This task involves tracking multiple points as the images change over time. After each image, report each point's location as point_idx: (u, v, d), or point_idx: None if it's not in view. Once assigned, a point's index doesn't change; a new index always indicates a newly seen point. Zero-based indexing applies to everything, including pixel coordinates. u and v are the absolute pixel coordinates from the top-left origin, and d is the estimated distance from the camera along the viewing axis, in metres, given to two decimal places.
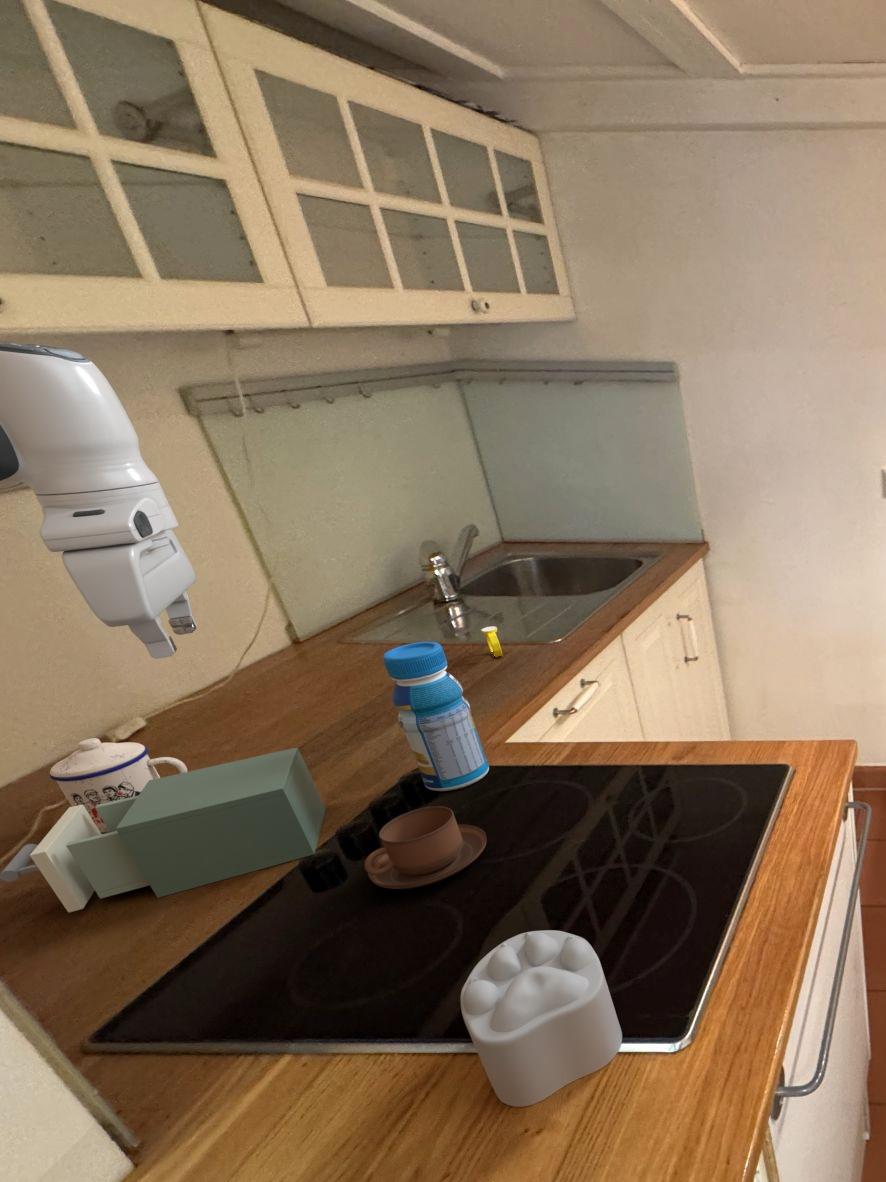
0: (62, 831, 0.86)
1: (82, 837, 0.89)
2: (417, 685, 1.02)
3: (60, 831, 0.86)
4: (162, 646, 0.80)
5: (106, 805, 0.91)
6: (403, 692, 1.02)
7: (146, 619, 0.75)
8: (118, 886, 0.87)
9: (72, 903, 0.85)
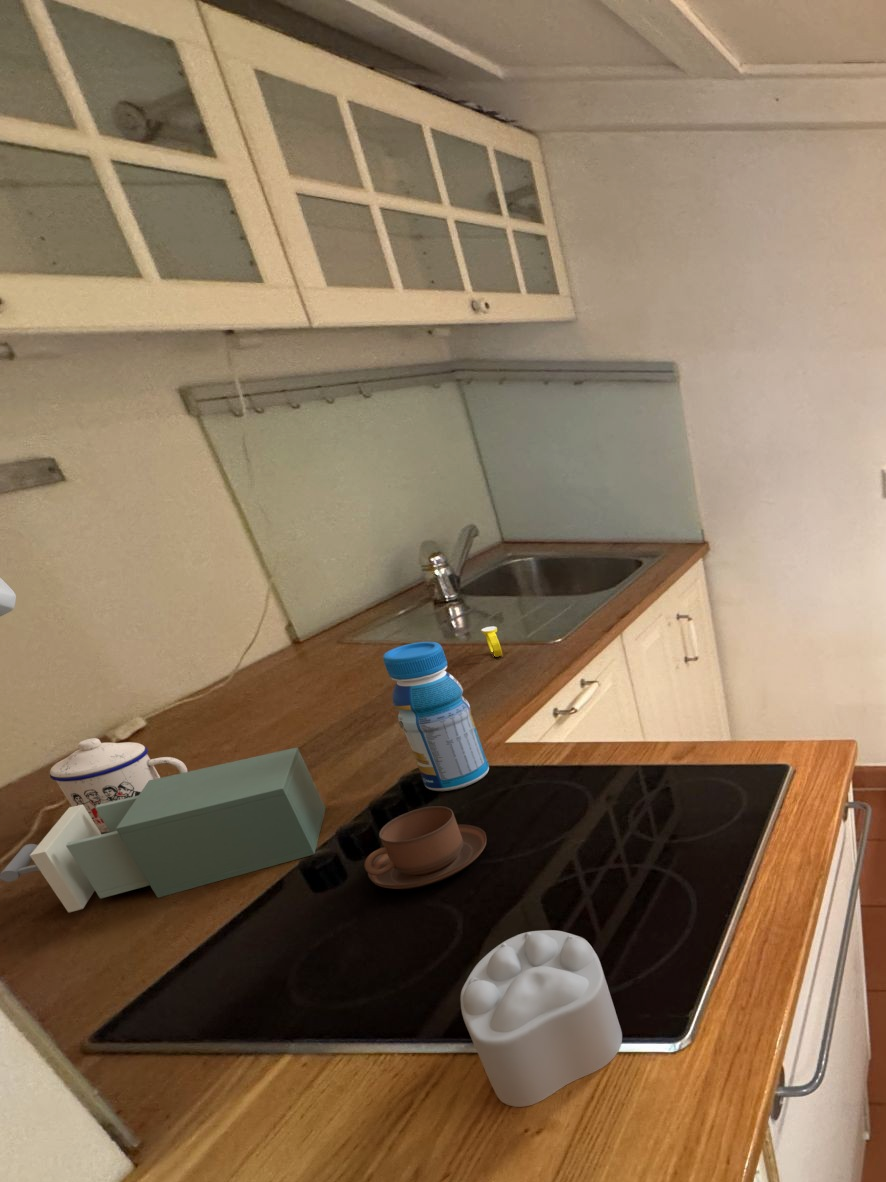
0: (62, 831, 0.86)
1: (82, 837, 0.89)
2: (417, 685, 1.02)
3: (60, 831, 0.86)
4: None
5: (106, 805, 0.91)
6: (403, 692, 1.02)
7: (13, 604, 0.68)
8: (118, 886, 0.87)
9: (72, 903, 0.85)
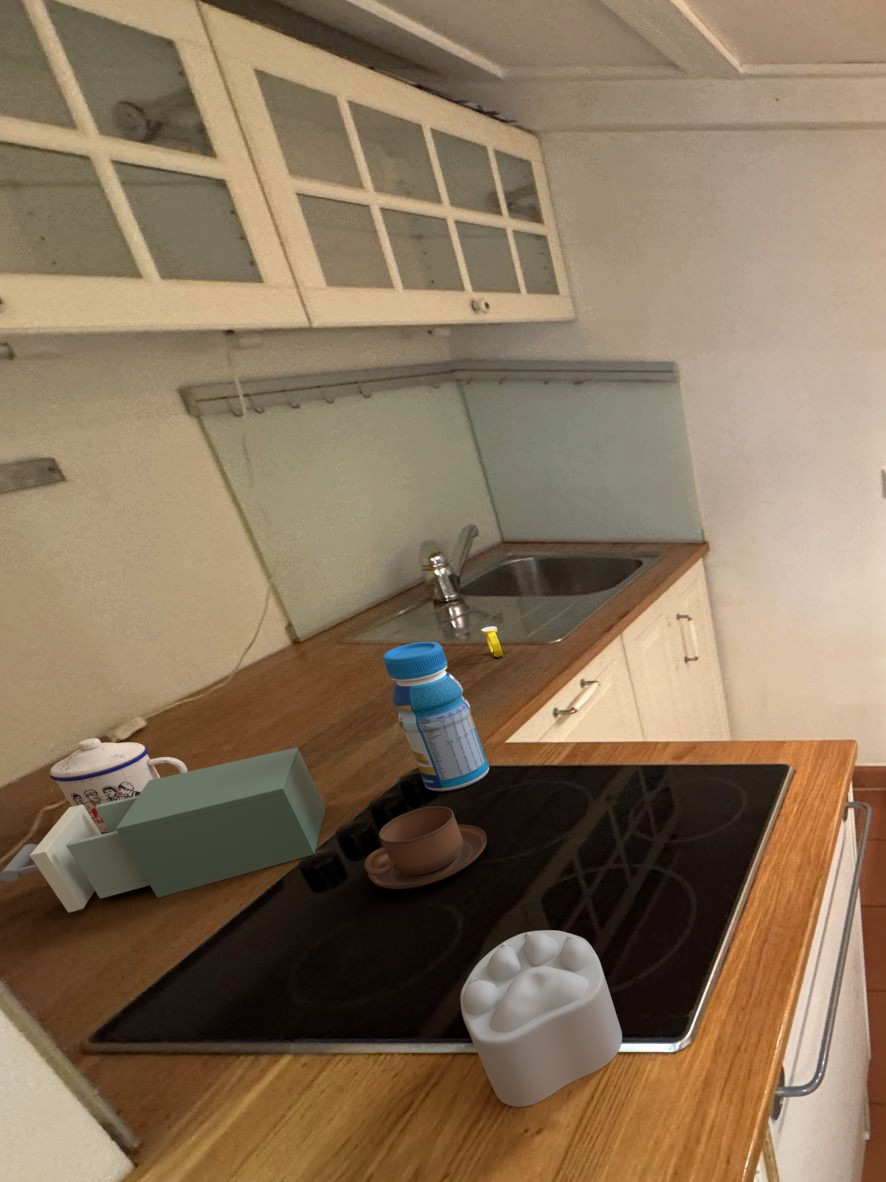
0: (62, 831, 0.86)
1: (82, 837, 0.89)
2: (417, 685, 1.02)
3: (60, 831, 0.86)
4: None
5: (106, 805, 0.91)
6: (403, 692, 1.02)
7: None
8: (118, 886, 0.87)
9: (72, 903, 0.85)
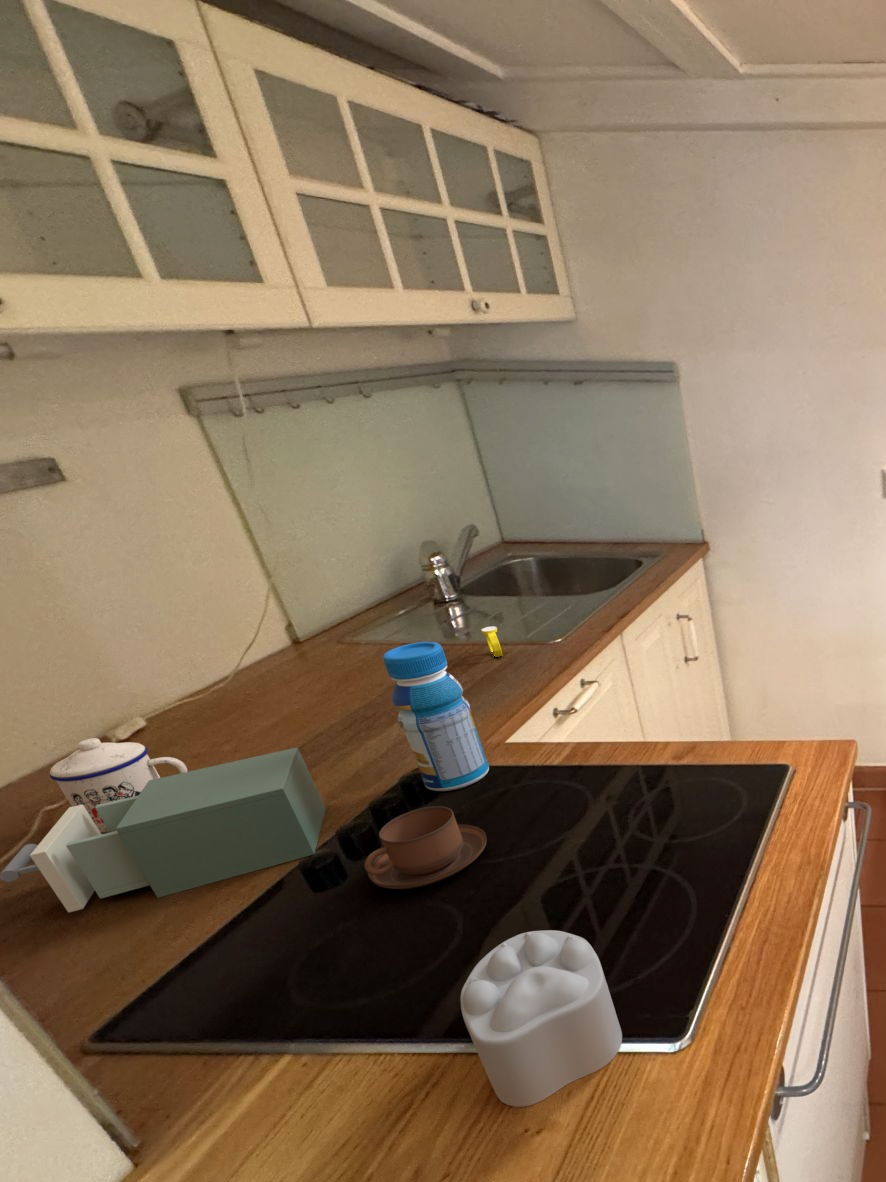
0: (62, 831, 0.86)
1: (82, 837, 0.89)
2: (417, 685, 1.02)
3: (60, 831, 0.86)
4: None
5: (106, 805, 0.91)
6: (403, 692, 1.02)
7: None
8: (118, 886, 0.87)
9: (72, 903, 0.85)
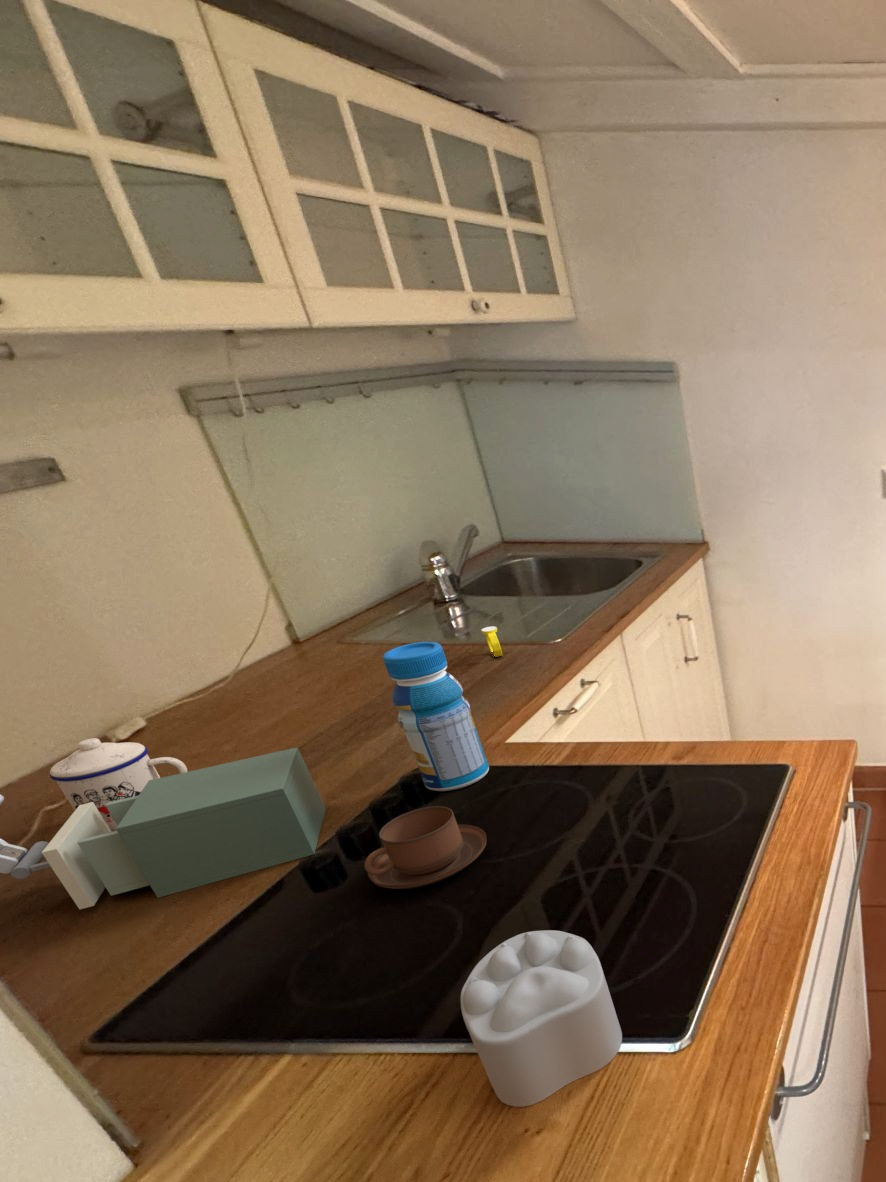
0: (73, 828, 0.86)
1: (93, 834, 0.89)
2: (417, 685, 1.02)
3: (71, 828, 0.86)
4: None
5: (116, 803, 0.91)
6: (403, 692, 1.02)
7: None
8: (129, 883, 0.87)
9: (83, 900, 0.85)
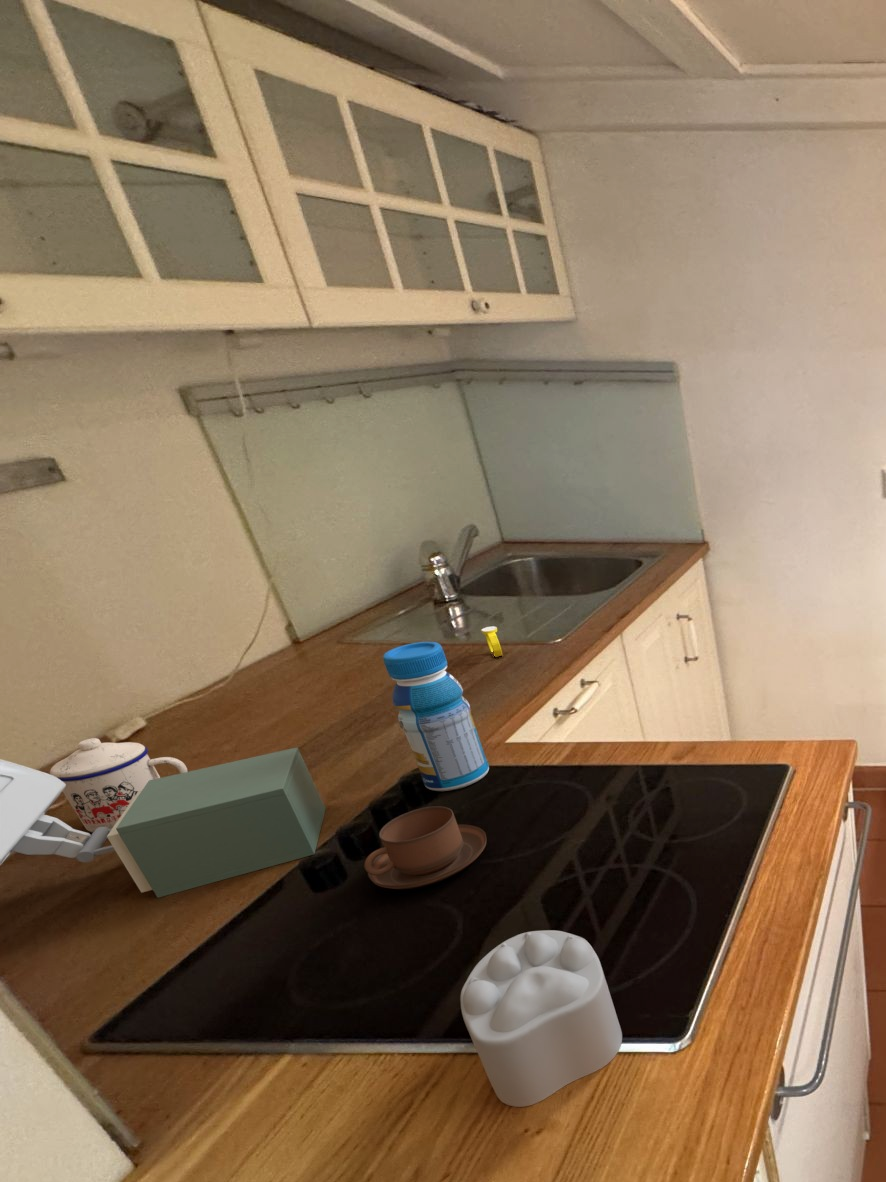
0: None
1: None
2: (417, 685, 1.02)
3: None
4: None
5: None
6: (403, 692, 1.02)
7: None
8: None
9: (145, 883, 0.88)
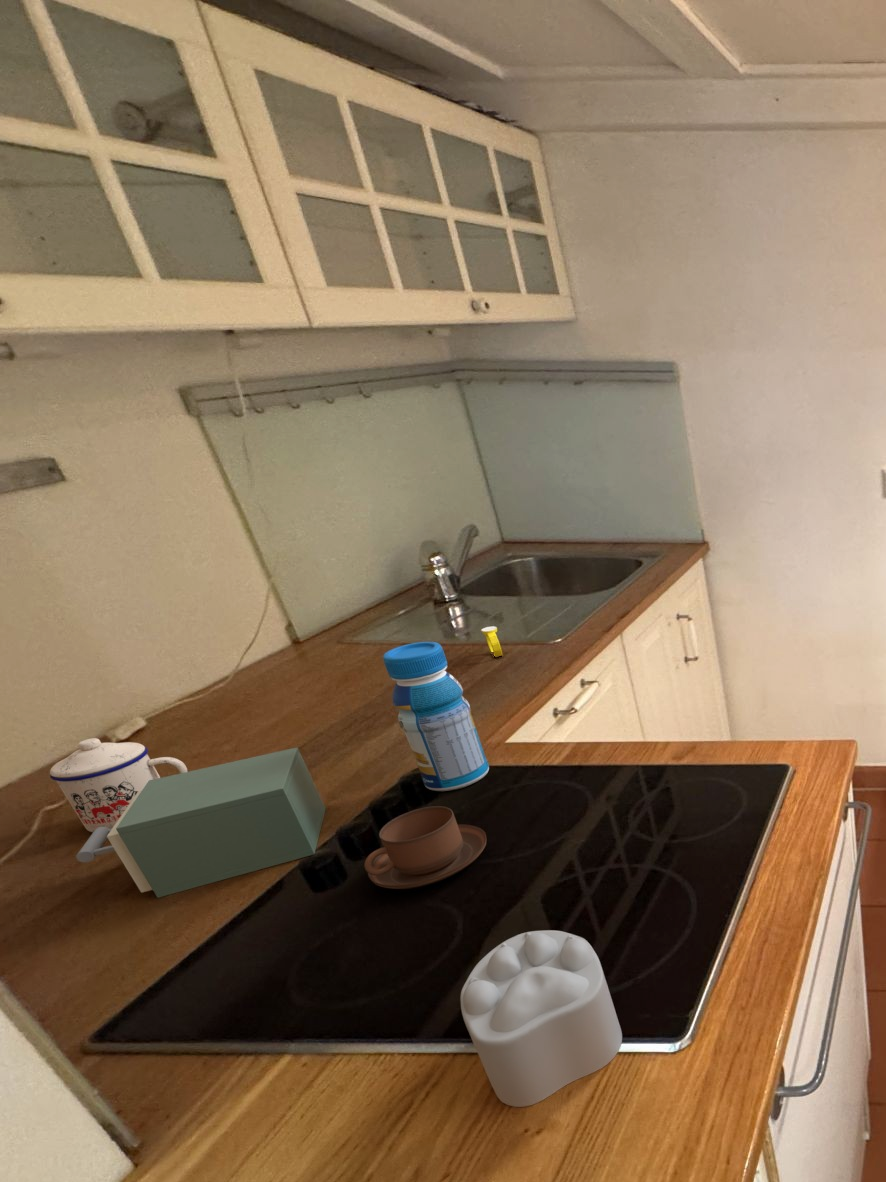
0: None
1: None
2: (417, 685, 1.02)
3: None
4: None
5: None
6: (403, 692, 1.02)
7: None
8: None
9: (145, 883, 0.88)
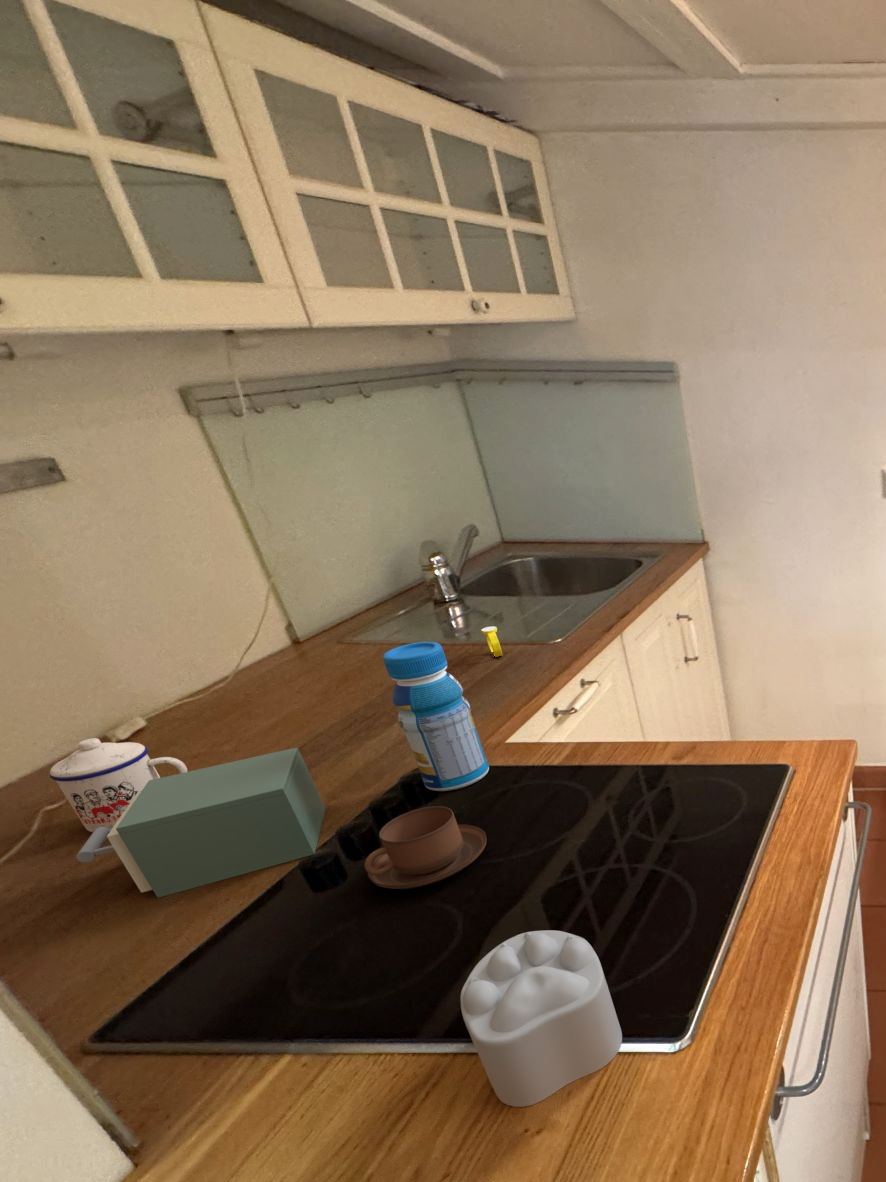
0: None
1: None
2: (417, 685, 1.02)
3: None
4: None
5: None
6: (403, 692, 1.02)
7: None
8: None
9: (145, 883, 0.88)
